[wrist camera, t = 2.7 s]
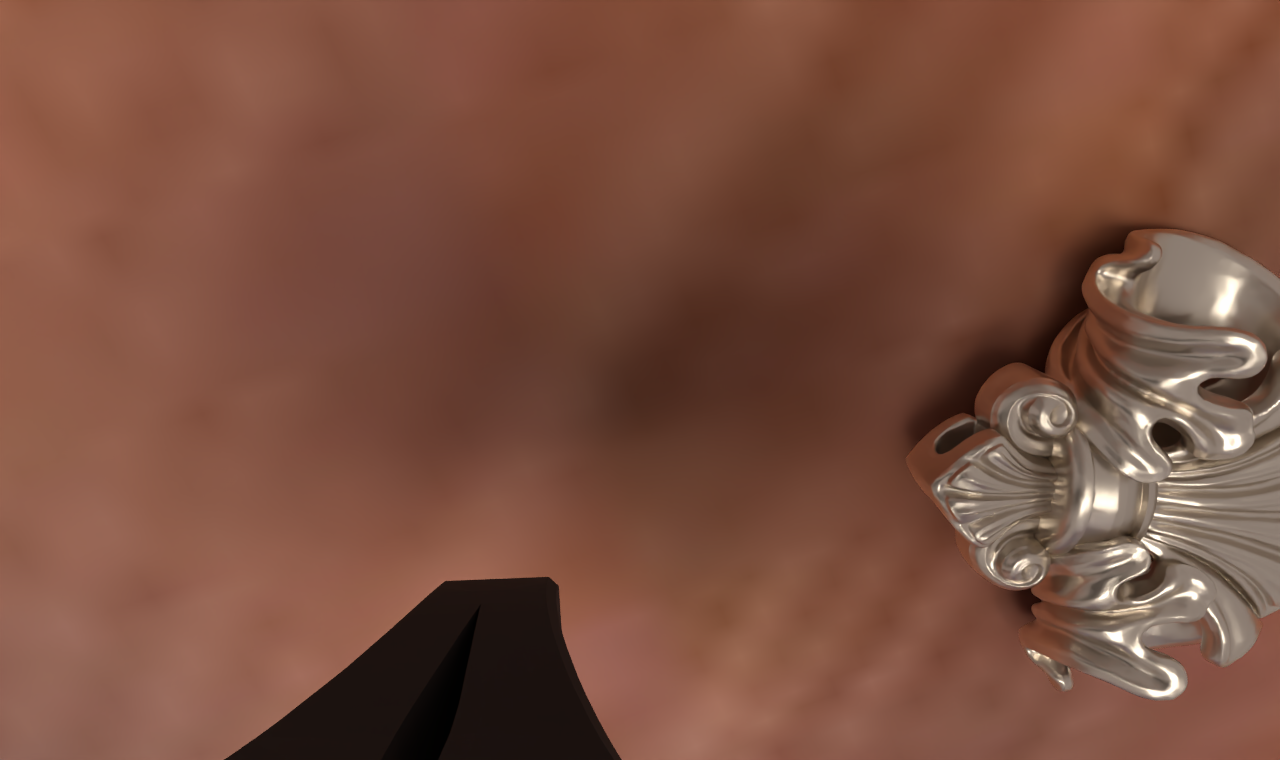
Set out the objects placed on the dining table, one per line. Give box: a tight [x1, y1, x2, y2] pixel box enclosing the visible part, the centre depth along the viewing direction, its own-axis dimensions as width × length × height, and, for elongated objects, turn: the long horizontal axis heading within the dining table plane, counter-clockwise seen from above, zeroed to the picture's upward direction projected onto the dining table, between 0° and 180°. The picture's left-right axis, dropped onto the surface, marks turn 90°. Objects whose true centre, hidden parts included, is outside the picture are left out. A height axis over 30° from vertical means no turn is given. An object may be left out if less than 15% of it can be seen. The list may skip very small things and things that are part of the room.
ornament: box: [906, 229, 1280, 701], centre depth 14 cm, size 8×7×4 cm
